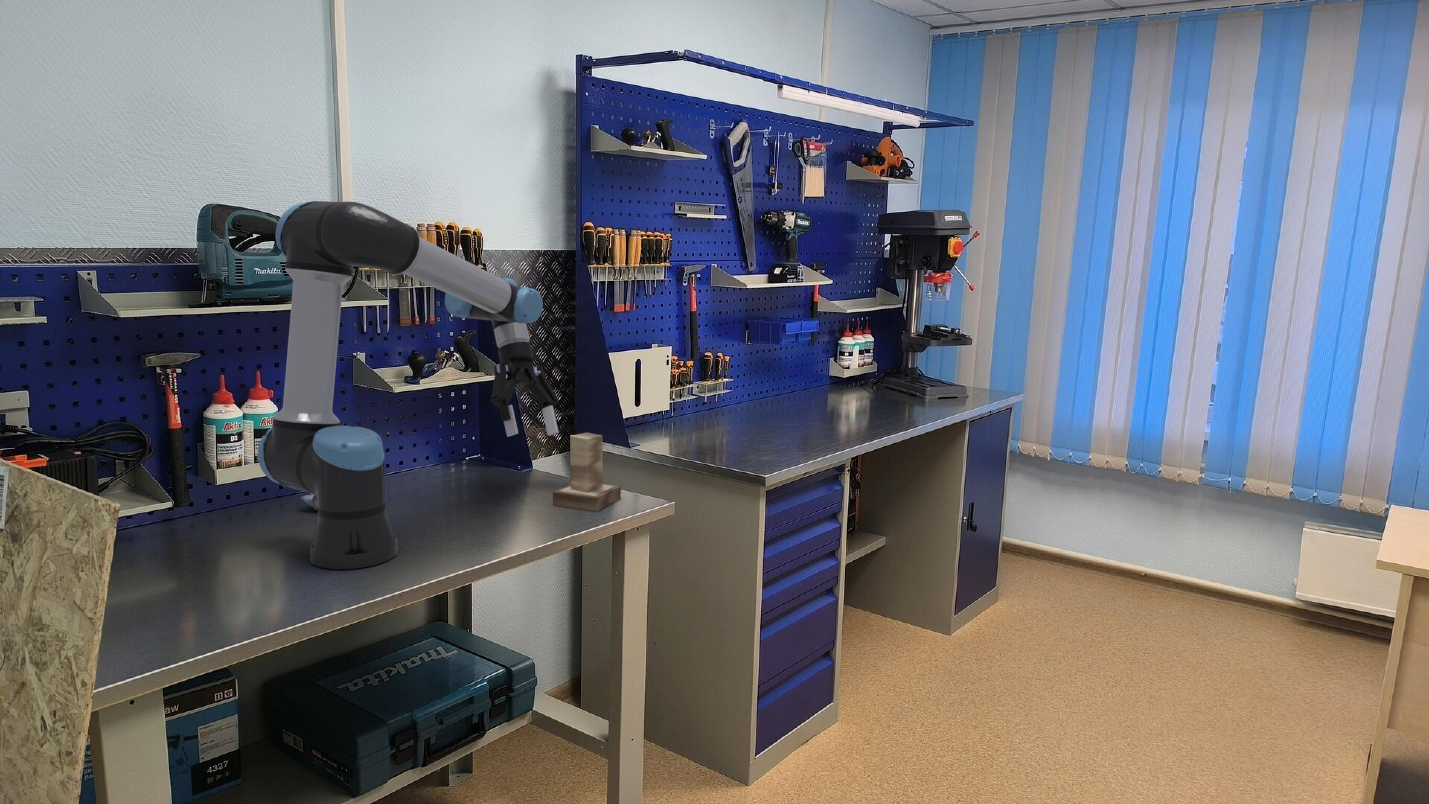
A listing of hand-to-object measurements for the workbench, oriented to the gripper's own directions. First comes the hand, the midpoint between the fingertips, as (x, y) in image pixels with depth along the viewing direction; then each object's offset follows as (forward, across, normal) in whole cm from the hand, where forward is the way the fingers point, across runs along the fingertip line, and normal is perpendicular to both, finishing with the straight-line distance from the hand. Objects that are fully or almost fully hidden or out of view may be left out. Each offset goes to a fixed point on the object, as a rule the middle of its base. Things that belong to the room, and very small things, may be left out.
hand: (533, 434), depth 212 cm
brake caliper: (+6, +28, -35) cm, 46 cm away
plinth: (+18, -5, +7) cm, 19 cm away
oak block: (+15, -4, +8) cm, 17 cm away
